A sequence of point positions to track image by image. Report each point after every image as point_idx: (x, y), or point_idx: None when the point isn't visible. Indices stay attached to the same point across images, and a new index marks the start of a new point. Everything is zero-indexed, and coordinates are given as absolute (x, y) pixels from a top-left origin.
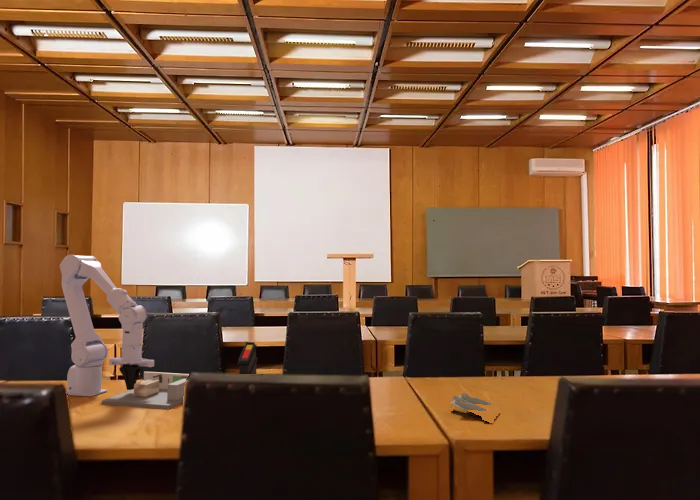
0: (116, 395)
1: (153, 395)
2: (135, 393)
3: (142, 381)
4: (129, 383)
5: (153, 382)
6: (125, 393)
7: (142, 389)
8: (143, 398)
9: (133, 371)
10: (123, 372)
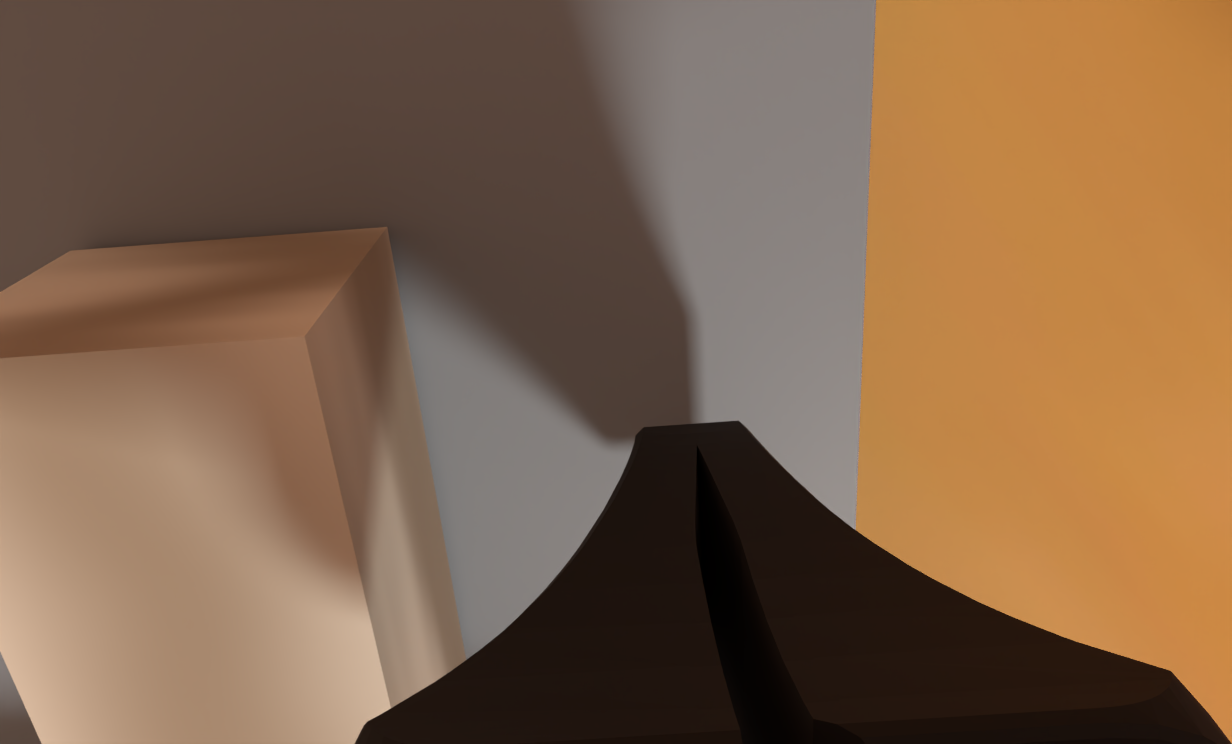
0: (853, 177)
1: None
2: (330, 251)
3: (375, 677)
4: (650, 483)
5: (16, 683)
6: (777, 396)
7: (70, 300)
8: (32, 144)
9: (388, 731)
10: (919, 644)
